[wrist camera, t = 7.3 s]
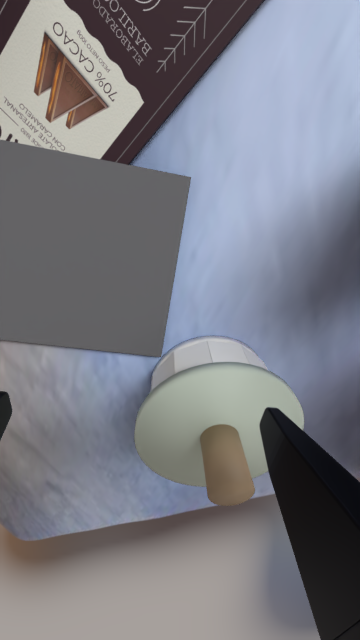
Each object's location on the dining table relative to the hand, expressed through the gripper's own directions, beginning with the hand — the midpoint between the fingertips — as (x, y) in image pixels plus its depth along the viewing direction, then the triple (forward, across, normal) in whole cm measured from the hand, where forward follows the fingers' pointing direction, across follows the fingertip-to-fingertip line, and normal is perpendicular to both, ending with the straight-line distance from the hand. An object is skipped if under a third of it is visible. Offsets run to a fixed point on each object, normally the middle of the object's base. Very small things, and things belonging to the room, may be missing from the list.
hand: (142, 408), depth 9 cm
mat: (+12, +6, -1) cm, 14 cm away
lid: (+7, -6, +10) cm, 14 cm away
